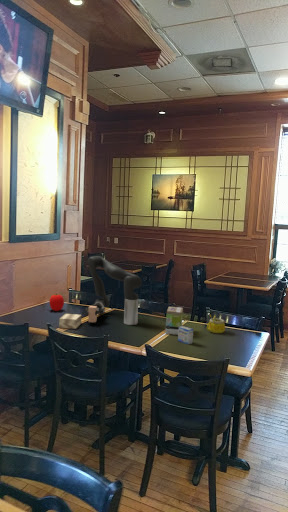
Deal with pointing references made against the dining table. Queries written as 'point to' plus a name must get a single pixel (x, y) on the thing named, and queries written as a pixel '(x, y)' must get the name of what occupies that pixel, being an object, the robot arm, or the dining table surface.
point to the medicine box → (185, 335)
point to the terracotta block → (92, 314)
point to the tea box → (173, 320)
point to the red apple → (56, 302)
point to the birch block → (70, 321)
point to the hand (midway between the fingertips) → (91, 313)
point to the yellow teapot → (216, 325)
